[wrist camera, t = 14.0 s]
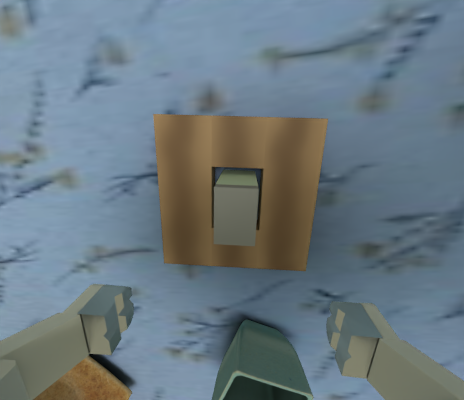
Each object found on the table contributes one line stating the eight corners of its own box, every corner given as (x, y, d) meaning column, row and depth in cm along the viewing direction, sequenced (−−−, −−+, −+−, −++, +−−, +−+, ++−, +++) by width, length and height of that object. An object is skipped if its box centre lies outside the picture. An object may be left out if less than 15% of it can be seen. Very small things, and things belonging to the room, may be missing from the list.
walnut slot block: (317, 119, 23) (328, 118, 20) (299, 256, 28) (305, 271, 25) (164, 115, 24) (153, 114, 21) (172, 249, 29) (164, 263, 26)
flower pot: (271, 366, 34) (279, 446, 25) (215, 347, 33) (205, 423, 25) (296, 324, 31) (315, 397, 23) (237, 303, 31) (234, 370, 22)
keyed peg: (254, 170, 25) (258, 189, 18) (252, 212, 27) (254, 246, 19) (223, 169, 25) (214, 187, 18) (222, 211, 27) (213, 244, 19)
